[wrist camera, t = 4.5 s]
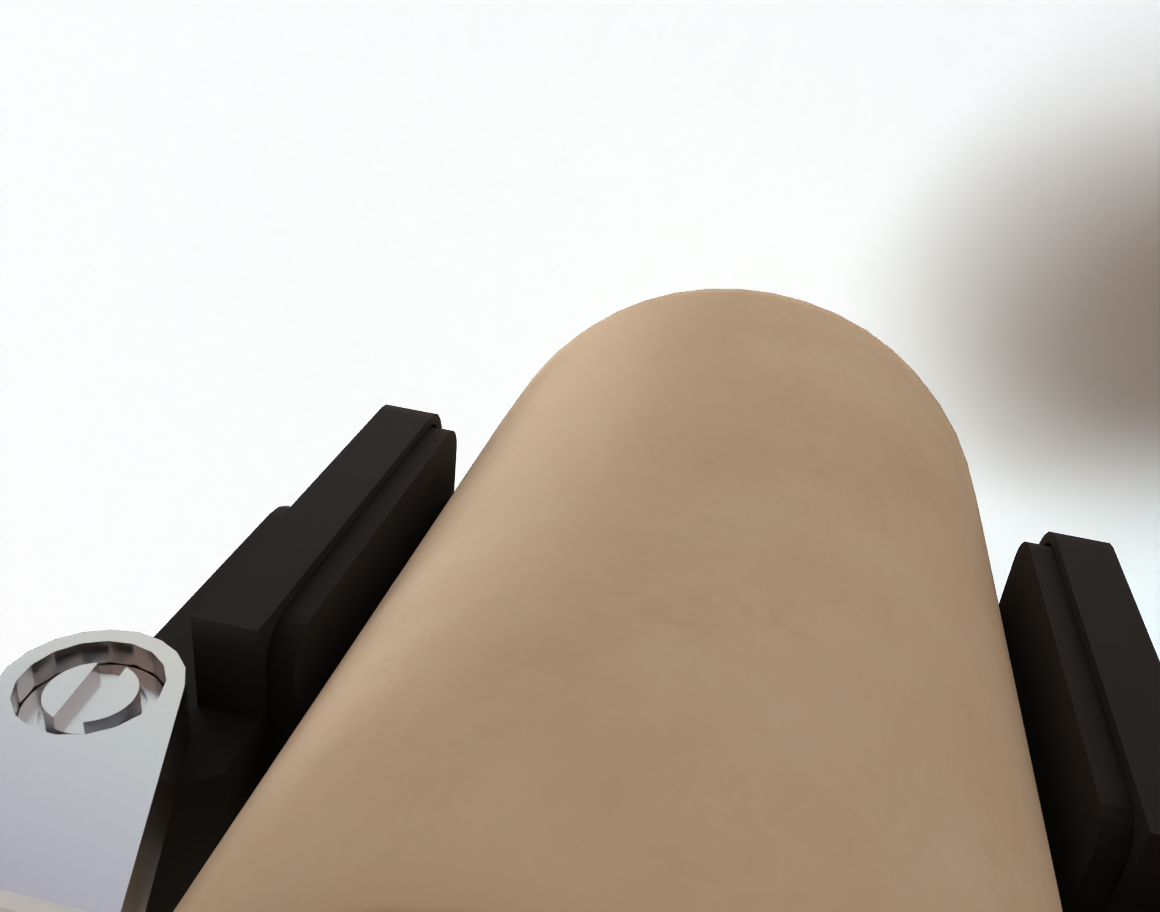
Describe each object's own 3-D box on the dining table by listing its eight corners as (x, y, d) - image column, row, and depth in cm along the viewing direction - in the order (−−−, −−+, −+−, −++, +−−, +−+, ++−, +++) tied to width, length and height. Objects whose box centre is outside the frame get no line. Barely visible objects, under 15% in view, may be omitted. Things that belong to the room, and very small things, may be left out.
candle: (698, 174, 11) (209, 1055, 3) (1083, 501, 12) (1685, 2056, 3) (419, 509, 14) (-292, 1510, 5) (747, 764, 15) (598, 2023, 6)
